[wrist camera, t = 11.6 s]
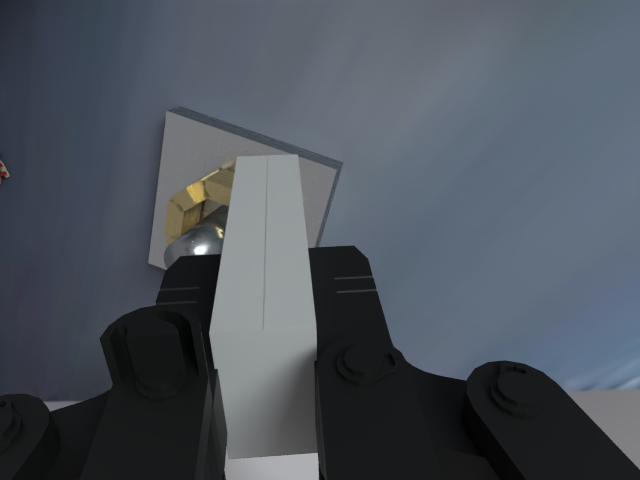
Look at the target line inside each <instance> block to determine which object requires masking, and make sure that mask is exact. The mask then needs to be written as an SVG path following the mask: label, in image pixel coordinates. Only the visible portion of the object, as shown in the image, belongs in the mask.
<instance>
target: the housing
mask: <svg viewBox="0 0 640 480" xmlns="http://www.w3.org/2000/svg"><path fill="white" fill-rule="evenodd" d="M292 154H298V161H299V170H300V179H301V189H302V198H303V207H304V216H305V226H306V235H307V244H308V248H316V247H319V243H320V240H321V236H322V233H323V230H324V226H325V223H326V219H327V216H328V212H329V209H330V206H331V202H332V199H333V195H334V192H335V189H336V185H337V182H338V178H339V175H340V171H341V168H342V165H343V162H340V161H337V160H334V159H331V158H328V157H325V156H322V155H319V154H316V153H313V152H310V151H308V150H305V149H302V148H299V147H296V146H293V145H290V144H287V143H284V142H281V141H278V140H275V139H273V138H270V137H267V136H264V135H261V134H258V133H255V132H252V131H249V130H246V129H243V128H240V127H238V126H235V125H232V124H229V123H226V122H223V121H220V120H217V119H214V118H211V117H208V116H206V115H203V114H200V113H197V112H194V111H191V110H188V109H185V108H182V107H177V108H174V109H171V110H168V111H167V113H166V121H165V129H164V137H163V146H162V154H161V162H160V171H159V179H158V187H157V195H156V204H155V212H154V220H153V228H152V237H151V245H150V253H149V261H148V263H149V264H152V265H155V266H157V267H160V268H162V269H165V270H167V269H168V268H169V267H170V266H171V265H172V264H173V263H174V262H175V261H176V260H177V259H178V258H179V257H180V256H189V255H209V254H222V249H223V243H224V237H225V230H226V224H227V218H228V211H229V206H227V205H224V204H222V203H219V202H216V201H213V200H210V199H208V198H207V199H205V200H203V201H202V206H201V212H200V219H199V222H198V223H197V224H196V225H194V226H193V227H192V228H191V229H189V230H188V231H187V232H185V233H184V234H183V235H181V236H180V237H179V238H177V239H176V240H175V241H173V242H172V243H171V244H170V245H168V244H167V242H166V241H165V240H166V239H168V238H169V237H168V236H165V235H164V230H165V222H166V214H167V206H168V201H169V200H170V199H172V198H171V196H173V195H174V194H176V193H178V192H179V191H181V190H182V189H184V188H186V187H187V186H189V185H191V184H192V183H194V182H196V181H198V180H199V179H201V178H203V177H205V176H206V175H208V174H210V173H212V172H213V171H215V170H217V169H219V171H220V170H222V169H223V168H224V169H226V170H229V171H232V172H235V167H236V161H237V157H240V156H266V155H292Z"/></svg>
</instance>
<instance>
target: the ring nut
mask: <svg viewBox="0 0 640 480" xmlns="http://www.w3.org/2000/svg"><path fill="white" fill-rule="evenodd" d="M234 173H235V172H232V171H229V170H226V169H224V168H223V169H222V170H220V171H219V169H217V170H215V171H213V172H212V173H210V174H208V175H206V176H205V177H203V178H201V179H199V180H198V181H196V182H194V183H192V184H191V185H189V186H187V187H186V188H184V189H182V190H181V191H179V192H178V193H176V194H174V195H173V196H171V198H172V199H170V200H169V201H168V206H167V214H166V222H165V230H164V235H165V236H168V237H169V238H168V239H166V240H165V241H166V242H167V244H168V245H170V244H171V243H172V242H173V241H175V240H176V239H177V238H179V237H180V236H181V235H183V234H184V233H185V232H187V231H188V230H189V229H191V228H192V227H193V226H194V225H196V224H197V223H198V222H199V219H200V212H201V206H202V201H203V200H205V199H207V198H208V199H210V200H213V201H216V202H219V203H222V204H224V205H227V206H229V205H230V199H231V192H232V186H233V180H234Z"/></svg>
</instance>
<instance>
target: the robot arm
mask: <svg viewBox="0 0 640 480" xmlns="http://www.w3.org/2000/svg"><path fill="white" fill-rule="evenodd" d="M100 342H101V345H102V348H103V352H104V355H105V358H106V362H107V365H108V368H109V372H110V375H111V378H112V382H113V385H112V388H111V389H110V390H108V391H107V392H105V393H103V394H101V395H99V396H97V397H94V398H91V399H89V400H86V401H83V402H80V403H77V404H73V405H70V406H67V407H64V408H60V409H57V410H54V411H51V412H50V411H49V409H48V408H47V406H46V405H45V404H44V402H43V401H42V400H41V399H40V398H37V397H34V396H31V395H28V394H8V395H4V396H0V480H226V478H225V471H224V467H225V455H226V445H227V450H228V457H229V459H238V458H251V457H266V456H279V455H293V454H305V453H318V460H319V480H640V470H639V469H638V467H637V466H636V465H635V464H634V463H633V462H632V461H631V460H630V459H629V458H628V457H627V456H626V455H625V454H624V453H623V452H622V451H621V450H620V449H619V448H618V447H617V446H616V445H615V443H613V441H612V440H611V439H610V438H609V437H608V436H607V435H606V434H605V433H604V432H603V431H602V430H601V429H600V428H599V427H598V426H597V425H596V424H595V423H594V421H592V419H591V418H590V417H589V416H588V415H587V414H586V413H585V412H584V411H583V410H582V409H581V408H580V407H579V406H578V405H577V404H576V403H575V402H574V401H573V400H572V399H571V397H570V396H569V395H568V394H567V393H566V392H565V391H564V390H563V389H562V388H561V387H560V386H559V385H558V384H557V383H556V382H555V381H553V380H552V379H551V378H549V377H548V376H547V375H546V374H544V373H543V372H541V371H539V370H537V369H535V368H532V367H530V366H528V365H526V364H522V363H517V362H511V361H495V362H487V363H485V364H483V365H481V366H479V367H477V368H475V369H474V370H473V372H472V373H471V375H470V376H469V377H468V379H467V381H465V380H459V379H454V378H449V377H443V376H438V375H435V374H431V373H427V372H424V371H422V370H420V369H418V368H416V367H414V366H412V365H411V364H409V363H408V362H407V361H406V360H405V358H404V356H403V355H402V353H401V352H400V351H399V350H397V349H396V348H395V347H394V346H393V344H392V342H391V338H390V335H389V331H388V328H387V324H386V321H385V317H384V314H383V310H382V307H381V303H380V300H379V296H378V293H377V291H376V286H375V282H374V279H373V277H372V272H371V268H370V265H369V261H368V258H366V257H365V256H364V255H363V254H362V253H361V252H360V251H359V250H358V249H357V248H356V247H355V246H336V247H316V248H308V244H307V235H306V226H305V216H304V207H303V198H302V189H301V179H300V170H299V161H298V154H292V155H266V156H240V157H237V161H236V167H235V173H234V180H233V186H232V192H231V199H230V205H229V211H228V218H227V224H226V230H225V237H224V243H223V249H222V254H209V255H189V256H180V257H179V258H178V259H177V260H176V261H175V262H174V263H173V264H172V265H171V266H170V267H169V268H168V269H167V270H166V271H165V274H164V277H163V281H162V284H161V287H160V291H159V293H158V297H157V300H156V305H155V306H150V307H144V308H140V309H137V310H135V311H133V312H130V313H128V314H125V315H123V316H122V317H120V318H119V319H117V320H116V321H115V322H113V323H112V324H111V325H109V326H108V328H107V329H106V330H105V332H104V333H103V335H102V336H101V337H100Z"/></svg>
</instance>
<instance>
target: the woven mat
mask: <svg viewBox="0 0 640 480" xmlns="http://www.w3.org/2000/svg"><path fill="white" fill-rule="evenodd" d="M0 171H1V173H0V184H1V181H2V178H1V177H2V176H5V178H7V177H10V176H9V174H8V172H7V170H6V168H5V166H4V164H3V163H2V161H1V160H0Z"/></svg>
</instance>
